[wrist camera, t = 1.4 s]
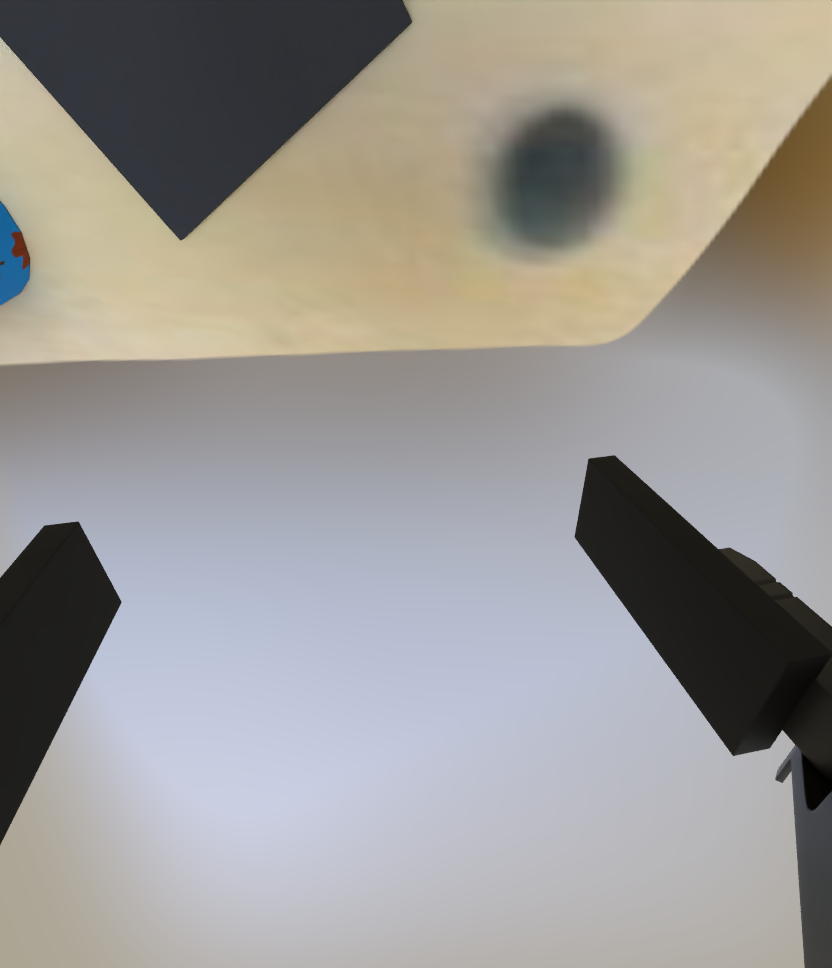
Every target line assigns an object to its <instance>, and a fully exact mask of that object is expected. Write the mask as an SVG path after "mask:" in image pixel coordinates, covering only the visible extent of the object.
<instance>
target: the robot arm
mask: <svg viewBox="0 0 832 968" xmlns="http://www.w3.org/2000/svg"><path fill="white" fill-rule="evenodd" d="M575 538H576V540H577V541H578V543H579V544H580V545H581V546H582V548H583V549H584V551H585V552H586V554H587V555H588V556H589V558H590V559H591V560H592V562H593V563H594V565H595V566H596V567H597V569H598V570H599V572H600V573H601V574H602V576H603V577H604V578H605V580H606V581H607V583H608V584H609V585H610V587H611V588H612V589H613V591H614V592H615V594H616V595H617V596H618V598H619V599H620V600H621V602H622V603H623V604H624V606H625V607H626V609H627V610H628V612H629V613H630V614H631V616H632V617H633V618H634V620H635V621H636V623H637V624H638V625H639V627H640V628H641V629H642V631H643V632H644V633H645V635H646V636H647V638H648V639H649V641H650V642H651V643H652V645H653V646H654V647H655V649H656V650H657V652H658V653H659V654H660V656H661V657H662V658H663V660H664V661H665V663H666V664H667V665H668V667H669V668H670V669H671V671H672V672H673V674H674V675H675V676H676V678H677V679H678V680H679V682H680V683H681V685H682V686H683V687H684V689H685V690H686V692H687V693H688V694H689V696H690V697H691V699H692V700H693V701H694V703H695V704H696V705H697V707H698V708H699V710H700V711H701V712H702V713H703V715H704V716H705V718H706V719H707V721H708V722H709V723H710V725H711V726H712V728H713V729H714V730H715V732H716V733H717V734H718V736H719V737H720V739H721V740H722V741H723V742H724V744H725V745H726V747H727V748H728V750H729V751H730V752H731V754H732V755H733V756H735V755H740V754H744V753H749V752H754V751H759V750H764V749H768V748H770V747H771V746H772V744H773V742H774V741H775V740H776V738H777V736H778V735H779V734H780V732H781V731H782V730H783V731H784V732H785V733H786V734H787V736H788V737H789V738H790V739H791V740H792V741H793V743H794V744H795V747H794V748H793V749H792V751H791V752H790V753H789V755H788V756H787V758H786V759H785V760H784V762H783V763H782V764H781V766H780V767H779V769H778V771H777V775H776V780H777V781H779V782H782V783H783V781H784V780H785V779H786V777H787V776H788V775H789V773H790V772H791V771H792V784H793V800H794V814H795V829H796V845H797V860H798V875H799V890H800V905H801V918H802V919H801V920H802V935H803V949H804V964H805V968H832V627H831V626H830V625H829V624H828V623H827V622H826V621H824V620H823V619H822V618H821V617H820V616H819V615H817V614H816V613H815V612H814V611H813V610H812V609H810V608H809V607H808V606H807V605H806V604H805V603H803V602H802V601H801V600H800V599H799V598H798V597H793V595H792V592H791V591H789V590H788V589H787V588H786V587H785V586H784V585H782V584H781V583H780V582H778V583H777V582H776V579H775V578H774V577H773V576H772V575H771V574H769V573H768V572H767V571H766V570H765V569H763V567H761V566H760V565H759V564H758V563H757V562H755V561H754V560H752V559H750V558H748V557H746V556H744V555H742V554H741V553H739V552H737V551H735V550H733V549H731V548H725V549H717V548H716V547H715V546H714V545H713V544H712V543H710V541H708V540H707V539H706V538H705V537H704V536H703V535H702V534H701V533H700V532H698V531H697V530H696V529H695V528H694V527H693V526H692V525H691V524H690V523H688V521H686V520H685V519H684V518H683V517H682V516H681V515H680V514H679V513H678V512H676V511H675V510H674V509H673V508H672V507H671V506H670V505H669V504H668V503H667V502H665V501H664V500H663V499H662V498H661V497H660V496H659V495H658V494H657V493H656V492H654V491H653V490H652V489H651V488H650V487H649V486H648V485H647V484H646V483H644V482H643V481H642V480H641V479H640V478H639V477H638V476H637V475H636V474H634V473H633V472H632V471H631V470H630V469H629V468H628V467H627V466H626V465H625V464H623V463H622V462H621V461H620V460H619V459H618V458H617V457H616V456H607V457H598V458H590V459H588V465H587V471H586V476H585V482H584V488H583V493H582V499H581V504H580V510H579V516H578V521H577V527H576V533H575ZM120 604H121V600H120V598H119V596H118V595H117V593H116V591H115V589H114V587H113V585H112V583H111V581H110V580H109V578H108V576H107V574H106V572H105V570H104V569H103V566H102V565H101V563H100V561H99V559H98V557H97V555H96V553H95V552H94V550H93V548H92V546H91V544H90V542H89V540H88V539H87V537H86V535H85V533H84V531H83V529H82V528H81V525H80V523H79V522H70V523H62V524H55V525H47V526H44V527H43V528H42V529H41V530H40V532H39V533H38V534H37V535H36V536H35V537H34V539H33V540H32V541H31V542H30V543H29V545H28V546H27V547H26V548H25V549H24V550H23V552H22V553H21V554H20V555H19V556H18V558H17V559H16V560H15V561H14V562H13V563H12V565H11V566H10V567H9V568H8V569H7V571H6V572H5V573H4V574H3V575H2V576H1V578H0V844H1V842H2V840H3V838H4V836H5V834H6V832H7V830H8V828H9V826H10V824H11V822H12V820H13V818H14V816H15V814H16V812H17V810H18V808H19V806H20V804H21V802H22V800H23V798H24V796H25V794H26V792H27V790H28V788H29V786H30V784H31V782H32V780H33V778H34V776H35V774H36V772H37V770H38V768H39V766H40V764H41V762H42V760H43V758H44V756H45V754H46V752H47V750H48V748H49V746H50V744H51V742H52V740H53V738H54V736H55V734H56V732H57V730H58V728H59V726H60V724H61V722H62V720H63V718H64V716H65V714H66V712H67V710H68V708H69V706H70V704H71V702H72V700H73V698H74V696H75V694H76V692H77V690H78V688H79V686H80V684H81V682H82V680H83V678H84V676H85V674H86V672H87V670H88V668H89V666H90V664H91V662H92V660H93V658H94V656H95V654H96V652H97V650H98V648H99V646H100V644H101V642H102V640H103V638H104V636H105V634H106V632H107V630H108V628H109V626H110V624H111V622H112V620H113V618H114V616H115V614H116V612H117V610H118V608H119V606H120Z"/></svg>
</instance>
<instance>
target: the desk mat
mask: <svg viewBox="0 0 832 968" xmlns="http://www.w3.org/2000/svg"><path fill="white" fill-rule="evenodd" d="M411 23H412V20H411V18H410V15H409V13H408V11H407V9H406V7H405V5H404V3H403V1H402V0H0V37H1V38H2V40H3V41H4V42H5V43H6V44H7V45H8V46H9V47H10V49H11V50H12V51H13V52H14V53H15V54H16V55H17V56H18V58H19V59H20V60H21V61H22V62H23V63H24V64H25V65H26V67H27V68H28V69H29V70H30V71H31V72H32V73H33V75H34V76H35V77H36V78H37V79H38V80H39V81H40V82H41V84H42V85H43V86H44V87H45V88H46V89H47V90H48V91H49V93H50V94H51V95H52V96H53V97H54V98H55V99H56V101H57V102H58V103H59V104H60V105H61V106H62V107H63V108H64V110H65V111H66V112H67V113H68V114H69V115H70V116H71V117H72V119H73V120H74V121H75V122H76V123H77V124H78V125H79V126H80V128H81V129H82V130H83V131H84V132H85V133H86V134H87V136H88V137H89V138H90V139H91V140H92V141H93V142H94V143H95V145H96V146H97V147H98V148H99V149H100V150H101V151H102V152H103V154H104V155H105V156H106V157H107V158H108V159H109V160H110V162H111V163H112V164H113V165H114V166H115V167H116V168H117V169H118V171H119V172H120V173H121V174H122V175H123V176H124V177H125V178H126V180H127V181H128V182H129V183H130V184H131V185H132V186H133V187H134V189H135V190H136V191H137V192H138V193H139V194H140V195H141V197H142V198H143V199H144V200H145V201H146V202H147V203H148V204H149V206H150V207H151V208H152V209H153V210H154V211H155V212H156V213H157V215H158V216H159V217H160V218H161V219H162V220H163V221H164V223H165V224H166V225H167V226H168V227H169V228H170V229H171V230H172V232H173V233H174V234H175V235H176V236H177V237H178V238H179V239H180V240H182V239H184V238H185V237H186V236H187V235H188V234H189V233H190V232H192V231H193V230H194V229H195V228H196V227H197V226H198V225H199V224H200V223H201V222H202V221H203V220H204V219H205V218H206V217H207V216H208V215H209V214H211V213H212V212H213V211H214V210H215V209H216V208H217V207H218V206H219V205H220V204H221V203H222V202H223V201H224V200H225V199H226V198H227V197H228V196H230V195H231V194H232V193H233V192H234V191H235V190H236V189H237V188H238V187H239V186H240V185H241V184H242V183H243V182H244V181H245V180H246V179H247V178H249V177H250V176H251V175H252V174H253V173H254V172H255V171H256V170H257V169H258V168H259V167H260V166H261V165H262V164H263V163H264V162H265V161H266V160H268V159H269V158H270V157H271V156H272V155H273V154H274V153H275V152H276V151H277V150H278V149H279V148H280V147H281V146H282V145H283V144H284V143H285V142H287V141H288V140H289V139H290V138H291V137H292V136H293V135H294V134H295V133H296V132H297V131H298V130H299V129H300V128H301V127H302V126H303V125H304V124H305V123H307V122H308V121H309V120H310V119H311V118H312V117H313V116H314V115H315V114H316V113H317V112H318V111H319V110H320V109H321V108H322V107H323V106H324V105H326V104H327V103H328V102H329V101H330V100H331V99H332V98H333V97H334V96H335V95H336V94H337V93H338V92H339V91H340V90H341V89H342V88H343V87H345V86H346V85H347V84H348V83H349V82H350V81H351V80H352V79H353V78H354V77H355V76H356V75H357V74H358V73H359V72H360V71H361V70H362V69H364V68H365V67H366V66H367V65H368V64H369V63H370V62H371V61H372V60H373V59H374V58H375V57H376V56H377V55H378V54H379V53H380V52H381V51H383V50H384V49H385V48H386V47H387V46H388V45H389V44H390V43H391V42H392V41H393V40H394V39H395V38H396V37H397V36H398V35H399V34H400V33H402V32H403V31H404V30H405V29H406V28H407V27H408V26H409V25H410V24H411Z"/></svg>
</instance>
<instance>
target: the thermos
mask: <svg viewBox="0 0 832 968" xmlns="http://www.w3.org/2000/svg"><path fill="white" fill-rule="evenodd" d="M29 270H30V258H29V255H28V252H27V249H26V246H25V243H24V239H23V236H22V233H21V232H20V230H19V229H18V227H17V225H16V224H15V222H14V221H13V219H12V218H11V216H10V214H9V213H8V211H7V210H6V208H5V206H4V205H3V204H2V203H1V202H0V305H2V304H4V303H5V302H7V301H8V300H10V299H11V298H13V297H15V296H16V295H18V294H19V293H20V292H21V291H22V289H23V288H24V286H25V285H26V283H27V282H28V280H29Z"/></svg>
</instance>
